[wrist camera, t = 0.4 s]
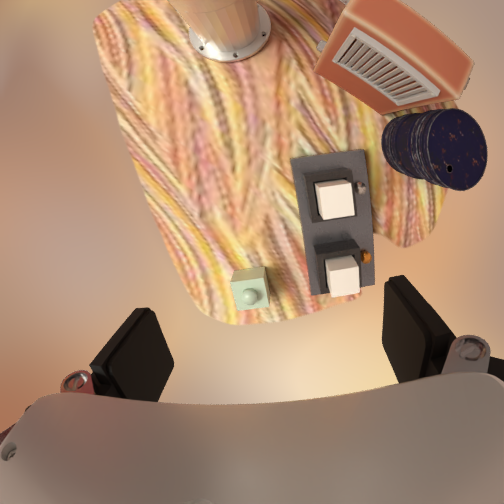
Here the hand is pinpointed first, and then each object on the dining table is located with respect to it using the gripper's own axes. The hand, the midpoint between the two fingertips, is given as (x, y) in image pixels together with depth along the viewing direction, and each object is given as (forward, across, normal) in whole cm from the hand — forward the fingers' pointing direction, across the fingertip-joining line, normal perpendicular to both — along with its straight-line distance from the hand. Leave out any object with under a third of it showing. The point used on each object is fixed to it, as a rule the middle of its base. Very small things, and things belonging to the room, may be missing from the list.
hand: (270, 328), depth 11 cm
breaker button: (+30, -7, 0) cm, 31 cm away
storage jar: (+34, -22, -6) cm, 41 cm away
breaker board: (+34, -8, +5) cm, 36 cm away
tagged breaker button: (+30, -8, +11) cm, 33 cm away
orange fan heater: (+34, -15, -17) cm, 41 cm away
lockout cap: (+35, +6, +14) cm, 38 cm away
